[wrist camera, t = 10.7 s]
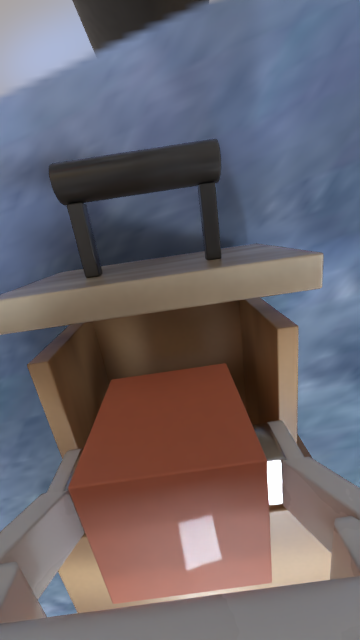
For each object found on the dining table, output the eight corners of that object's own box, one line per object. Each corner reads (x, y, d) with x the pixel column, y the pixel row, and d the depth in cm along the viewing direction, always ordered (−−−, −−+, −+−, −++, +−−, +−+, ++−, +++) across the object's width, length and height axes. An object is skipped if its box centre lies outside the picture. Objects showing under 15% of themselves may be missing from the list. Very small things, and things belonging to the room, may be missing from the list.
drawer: (36, 191, 13) (-86, 155, 7) (253, 159, 13) (331, 92, 7) (109, 442, 19) (78, 550, 12) (264, 420, 19) (313, 518, 12)
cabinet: (97, 409, 19) (42, 542, 11) (267, 385, 19) (340, 501, 11) (133, 532, 23) (114, 691, 15) (271, 513, 23) (325, 665, 15)
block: (110, 379, 10) (66, 488, 6) (225, 362, 10) (267, 460, 6) (133, 466, 12) (112, 605, 7) (234, 452, 12) (272, 583, 7)
